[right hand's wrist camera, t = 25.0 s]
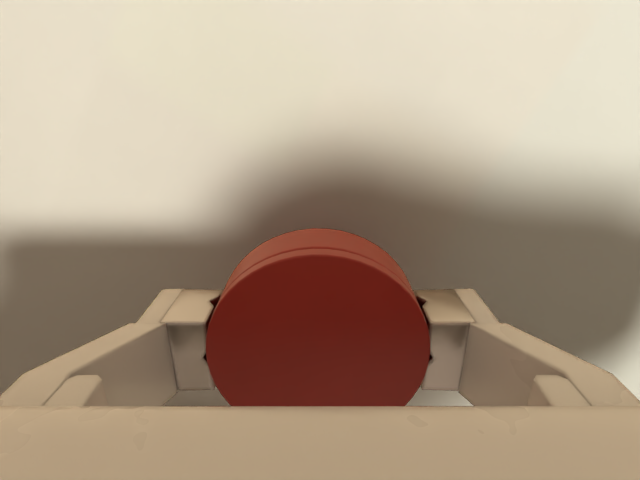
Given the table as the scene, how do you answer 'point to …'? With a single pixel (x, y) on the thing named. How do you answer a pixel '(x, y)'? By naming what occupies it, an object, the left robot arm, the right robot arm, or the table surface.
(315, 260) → the lid
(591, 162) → the table surface
